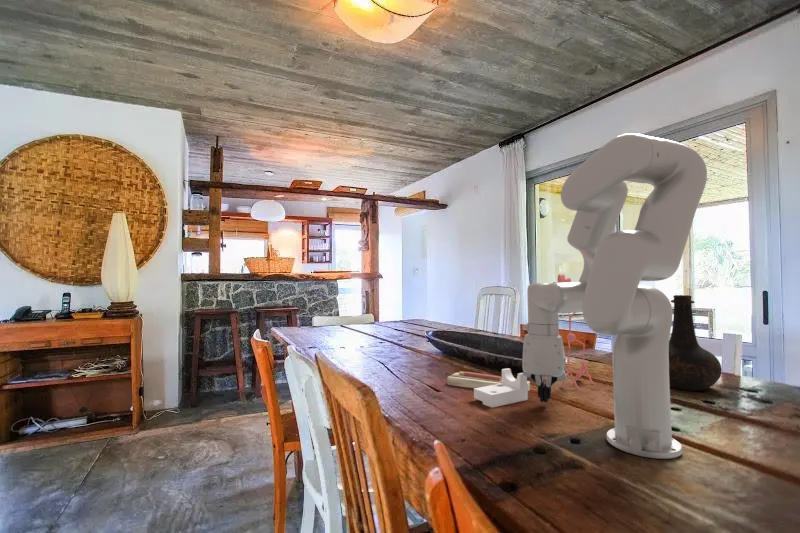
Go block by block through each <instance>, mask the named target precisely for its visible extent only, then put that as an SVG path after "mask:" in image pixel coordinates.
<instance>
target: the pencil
mask: <svg viewBox="0 0 800 533" xmlns="http://www.w3.org/2000/svg"><path fill="white" fill-rule="evenodd" d="M458 373H459V374H461V375H464V376H470V377H477V378H484V379H491V380H497V381H501V380H502V375H501V376H500V375H492V374H487V373H486V374H485V373H478V372H471V371H459V372H458Z"/></svg>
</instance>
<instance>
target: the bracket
mask: <svg viewBox="0 0 800 533" xmlns="http://www.w3.org/2000/svg"><path fill="white" fill-rule="evenodd" d="M501 377H502V383H501V384H496V385H490V386H485V387H479V388H473V399H476V400H477V401H479V402H480V401H481V402H482V405H484V406H487V407H489V408H491V409H494V408H497V407H501V406H505V405H511V404H515V403H519V402H524V401H527V400H528V399H529V398H528V396H529V395H528V392H527V381H528V377H527V376H524V375H523V372H519V373H517V376H516V377H514V375H513V373H512V369H511V368H508V367H507V368H502V369H501Z"/></svg>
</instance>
